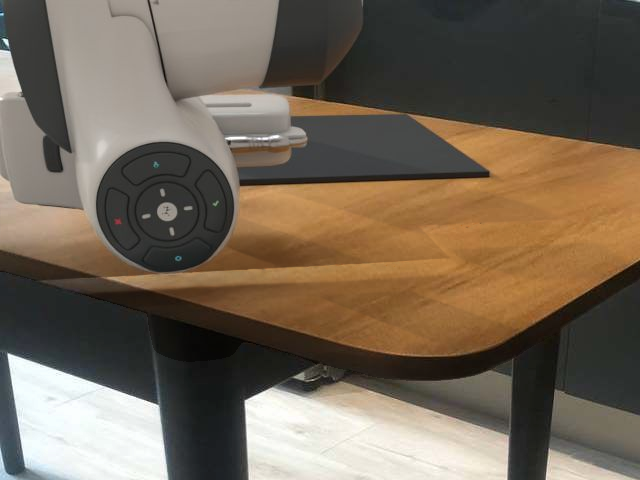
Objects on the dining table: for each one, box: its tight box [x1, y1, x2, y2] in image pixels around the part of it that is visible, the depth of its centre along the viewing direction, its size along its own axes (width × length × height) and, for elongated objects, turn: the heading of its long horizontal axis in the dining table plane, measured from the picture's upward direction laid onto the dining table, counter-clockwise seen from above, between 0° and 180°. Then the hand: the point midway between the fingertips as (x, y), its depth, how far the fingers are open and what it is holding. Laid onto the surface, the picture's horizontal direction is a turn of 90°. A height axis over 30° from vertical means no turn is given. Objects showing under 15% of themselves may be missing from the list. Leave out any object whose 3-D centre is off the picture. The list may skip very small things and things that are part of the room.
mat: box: [237, 113, 491, 186], centre depth 108 cm, size 34×30×1 cm
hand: (139, 110), depth 80 cm, fingers closed
